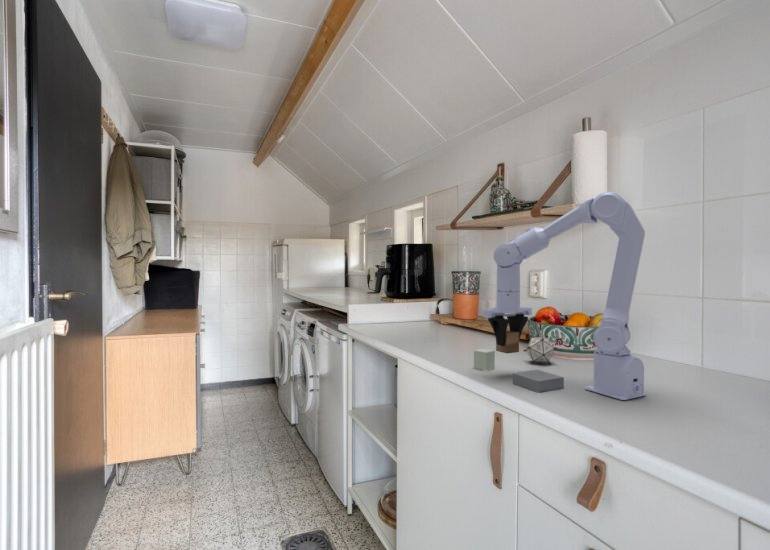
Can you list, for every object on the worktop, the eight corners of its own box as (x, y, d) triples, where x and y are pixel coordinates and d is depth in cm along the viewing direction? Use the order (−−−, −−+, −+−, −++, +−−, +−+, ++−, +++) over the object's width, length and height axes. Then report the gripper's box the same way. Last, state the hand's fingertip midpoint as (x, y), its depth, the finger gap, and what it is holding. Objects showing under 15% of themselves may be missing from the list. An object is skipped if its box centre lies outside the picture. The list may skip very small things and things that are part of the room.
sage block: (494, 368, 117) (494, 350, 117) (486, 371, 114) (486, 352, 114) (482, 366, 120) (482, 348, 120) (473, 368, 117) (473, 350, 117)
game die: (542, 374, 126) (558, 346, 128) (550, 370, 118) (566, 340, 120) (514, 357, 128) (530, 330, 130) (520, 353, 120) (537, 323, 122)
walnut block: (519, 352, 108) (519, 332, 108) (507, 353, 106) (507, 333, 106) (507, 349, 112) (507, 330, 112) (496, 350, 110) (496, 331, 110)
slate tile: (563, 387, 99) (563, 377, 98) (538, 392, 95) (538, 381, 95) (536, 379, 106) (537, 369, 106) (512, 383, 102) (512, 373, 102)
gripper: (517, 290, 116) (517, 339, 116) (475, 291, 109) (475, 344, 109) (538, 291, 109) (537, 344, 110) (494, 292, 103) (494, 349, 103)
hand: (507, 344), depth 109 cm, fingers closed on walnut block, 4 cm apart
